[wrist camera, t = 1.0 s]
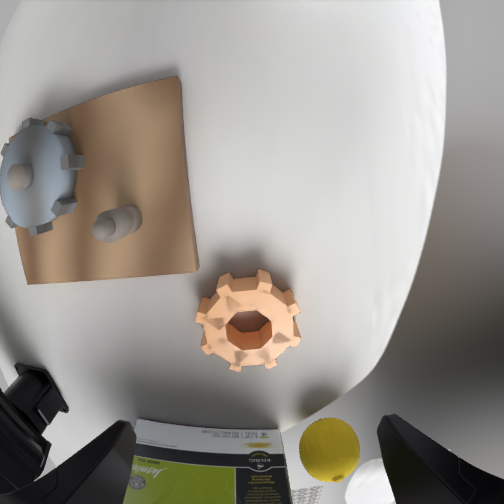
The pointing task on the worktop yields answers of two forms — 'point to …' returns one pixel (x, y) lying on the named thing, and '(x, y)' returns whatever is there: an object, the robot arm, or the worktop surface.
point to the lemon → (329, 449)
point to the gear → (248, 299)
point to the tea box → (207, 466)
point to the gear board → (103, 189)
